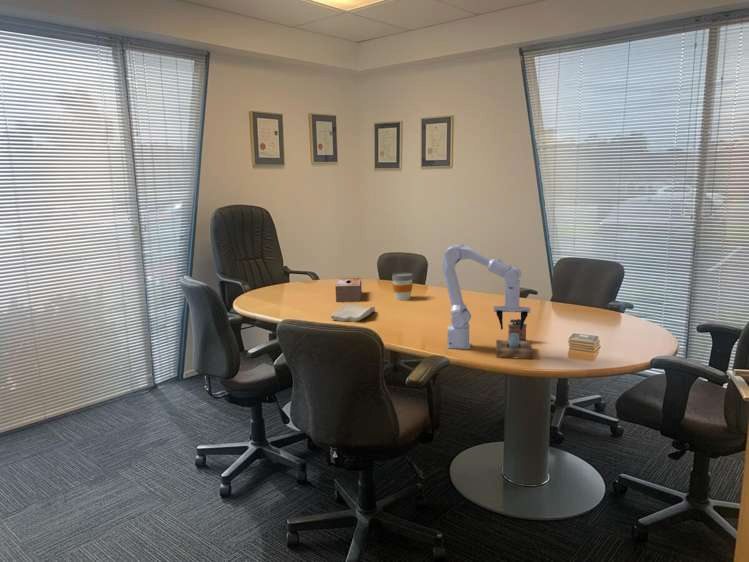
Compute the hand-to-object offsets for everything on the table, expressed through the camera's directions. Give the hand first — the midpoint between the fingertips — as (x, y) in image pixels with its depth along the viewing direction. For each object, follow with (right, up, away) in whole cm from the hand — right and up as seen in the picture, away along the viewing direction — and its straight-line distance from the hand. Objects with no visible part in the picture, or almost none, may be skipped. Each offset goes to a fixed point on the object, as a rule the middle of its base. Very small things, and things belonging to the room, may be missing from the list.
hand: (511, 329), depth 222 cm
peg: (+1, -10, +1) cm, 10 cm away
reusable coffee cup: (-39, +9, +106) cm, 114 cm away
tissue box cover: (-72, +9, +114) cm, 136 cm away
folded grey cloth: (-66, 0, +67) cm, 94 cm away
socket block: (+1, -10, +1) cm, 10 cm away
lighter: (+7, -7, +17) cm, 19 cm away
